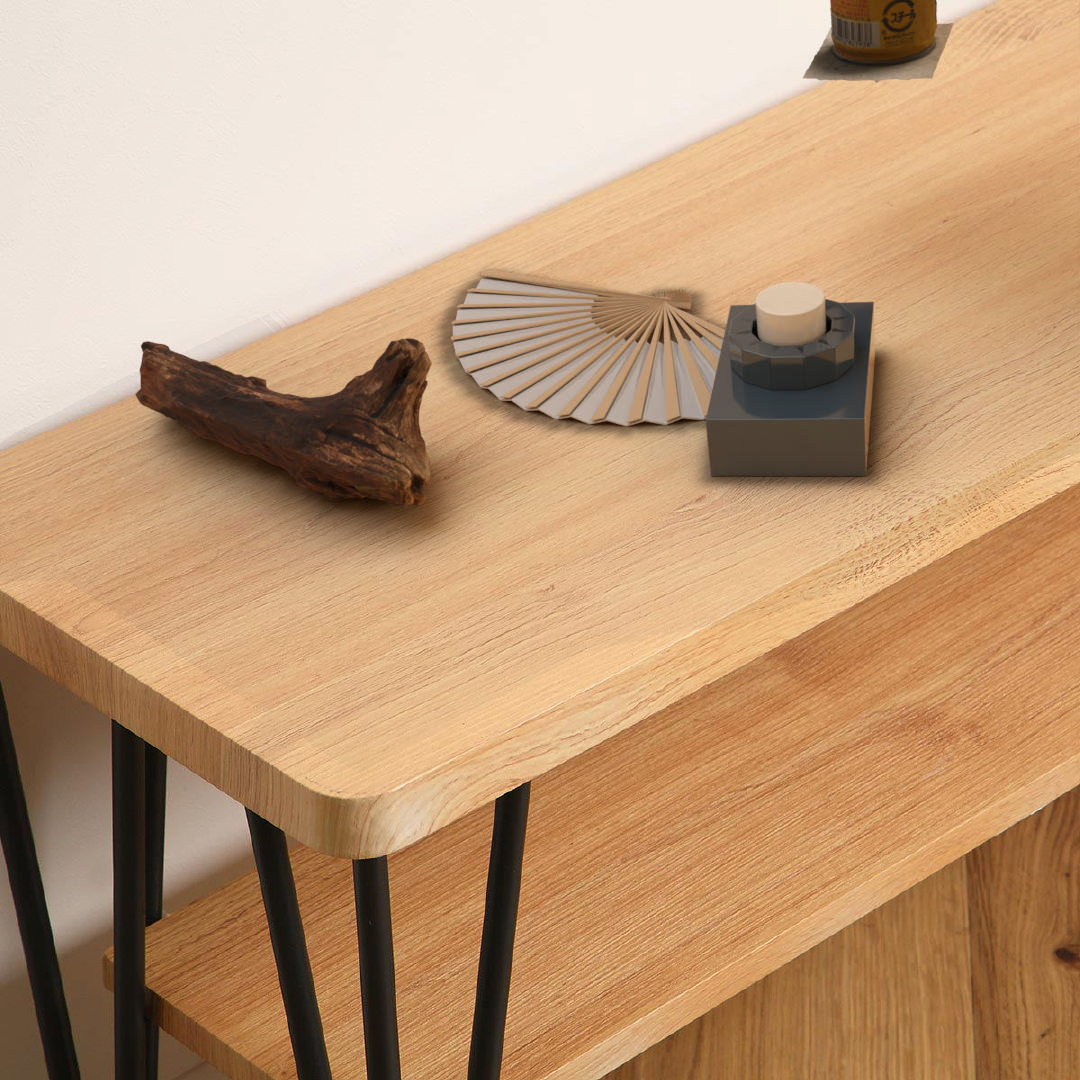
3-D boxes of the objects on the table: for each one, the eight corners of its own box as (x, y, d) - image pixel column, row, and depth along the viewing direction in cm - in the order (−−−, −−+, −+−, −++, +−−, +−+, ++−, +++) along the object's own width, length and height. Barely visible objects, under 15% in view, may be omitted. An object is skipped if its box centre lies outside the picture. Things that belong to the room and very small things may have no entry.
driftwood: (497, 468, 88) (473, 339, 84) (409, 551, 83) (378, 418, 79) (194, 394, 100) (159, 276, 95) (101, 463, 95) (58, 342, 90)
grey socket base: (874, 355, 92) (873, 269, 89) (866, 476, 83) (863, 384, 80) (734, 358, 94) (728, 273, 91) (710, 476, 85) (702, 386, 82)
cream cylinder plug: (828, 314, 87) (827, 280, 85) (824, 348, 84) (822, 313, 83) (760, 315, 88) (758, 281, 86) (754, 350, 85) (752, 315, 84)
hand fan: (529, 253, 109) (366, 351, 101) (528, 242, 109) (363, 340, 101) (862, 352, 93) (699, 478, 85) (862, 340, 93) (698, 466, 85)
